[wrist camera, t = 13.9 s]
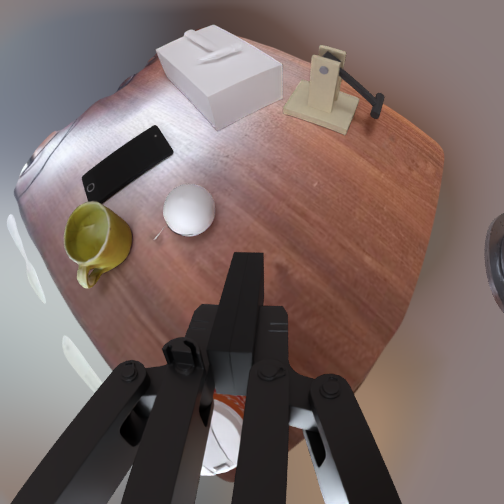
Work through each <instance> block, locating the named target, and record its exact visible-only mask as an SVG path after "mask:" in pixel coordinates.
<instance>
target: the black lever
mask: <svg viewBox="0 0 504 504" xmlns="http://www.w3.org/2000/svg"><path fill="white" fill-rule="evenodd" d="M322 57H324V58H328V59H331V60H334V61H338V62H341V61H340V60H339V59H337V58H336V57H335V56H334V55H332V54H331V53H330V52H328V51H327V52H326V53H325V54H324V55H323V56H322ZM339 76H340V77H341V78H342V79H343V80H345V81H346V82H347V83H348V84H349V85H350V86H352V87H353V88H354V89H355V90H356V91H357V92H358V93H360V94H361V95H362V96H363V97H364V98H365V99H366V100H367V101H368V102H369V103H370V104H371V105H372V106H373V107H372V110H371V113H370V115H371V117H372V118H374V119H378V118H379V116H380V112H381V109H382V105H383V101H384V95H383V94H381V93H377V94H376V97H373V95H372V94H371V93H369V92H368V91H367V90H366V89H365V88H364V87H363V86H362V85H361V84H360V83H359V82H357V81H356V80H355V79H354V78H353V77H352V76H350V75H349V74H348V73H347V72H346V71H344V70H343V69H342V68H341V67H340V70H339Z"/></svg>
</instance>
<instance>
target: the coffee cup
mask: <svg viewBox="0 0 504 504" xmlns="http://www.w3.org/2000/svg"><path fill="white" fill-rule="evenodd" d="M213 399H214V409H213V414H212V419H211V424H210V429H209V434H208V439H207V444H206V449H205V454H204V459H203V464H202V469H201V474H200V475H215V474H217V473H222V472H226V471H229V470H231V469H233V468H235V467H236V466H237V460H238V453H239V446H240V438H241V431H242V423H243V416H244V408H245V401H246V396H239V395H226V394H216V390H214V394H213Z"/></svg>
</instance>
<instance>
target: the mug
mask: <svg viewBox="0 0 504 504" xmlns="http://www.w3.org/2000/svg"><path fill="white" fill-rule="evenodd" d="M131 244H132V234H131V230H130V228H129V226H128V224H127V223H126V222H125V221H124V220H123V219H122V218H121V217H119V216H118V215H117V214H115V213H114V212H113V211H112V210H110V209H109V208H107V207H105V206H104V205H102V204H101V203H99V202H94V201H91V202H85V203H83V204H82V205H79V206H78V207H77V208H76V209H75V210H74V211H73V213H72V214H71V215H70V217H69V219H68V221H67V224H66V227H65V231H64V247H65V250H66V253H67V255H68V256H69V257H70V259H72V260H73V261H74V262H76V263H78V264H79V268H78V271H77V279H78V281H79V283H80V284H81V285H82V286H83V287H84V288H91V287H93V286H94V285H95V284H96V282H97V281H98V280H99V278H100V276H101V275H102V273H104V272H107V271H109V270H111V269H112V268H114V267H116V266H117V265H119V264H120V263H122V262H123V261H124V260H125V259H126V257H127V256H128V254H129V251H130V247H131ZM91 269H94V270H93V271H92V272H91V274H90V275H89V276H88V273H89V270H91Z"/></svg>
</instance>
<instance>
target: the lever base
mask: <svg viewBox="0 0 504 504" xmlns="http://www.w3.org/2000/svg"><path fill="white" fill-rule="evenodd" d="M327 51H328V52H330V53H331V54H332V55H334V56H335V57H336V58H337V59H339V60H340V61H341V62H338V61H334V60H331V59H328V58H324V57H322V56H323V55H324V54H325V53H326V52H327ZM345 58H346V52H344V51H341V50H338V49H334V48H331V47H327V46H324V45H320V47H319V55H318V56H317V55H313V56H312V59H311V73H310V82H309V81H306V80H301V82H300V83H299V85H298V86H297V87H296V89H295V90H294V92H293V93H292V95H291V97H290V98H289V100H288V101H287V103H286V104H285V106H284V107H283V114H287V115H290V116H293V117H296V118H299V119H302V120H305V121H308V122H311V123H314V124H317V125H320V126H322V127H325V128H328V129H331V130H333V131H336V132H338V133H341V134H344V135H346V133H347V131H348V128H349V126H350V123H351V121H352V118H353V116H354V113H355V111H356V108H357V105H358V102H359V98H357V97H354V96H352V95H349V94H346V93H343V92H341V91H340V85H341V80H342V78H341V77H340V76H339V70H340V67H341V68H342V69H344V63H345Z"/></svg>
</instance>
